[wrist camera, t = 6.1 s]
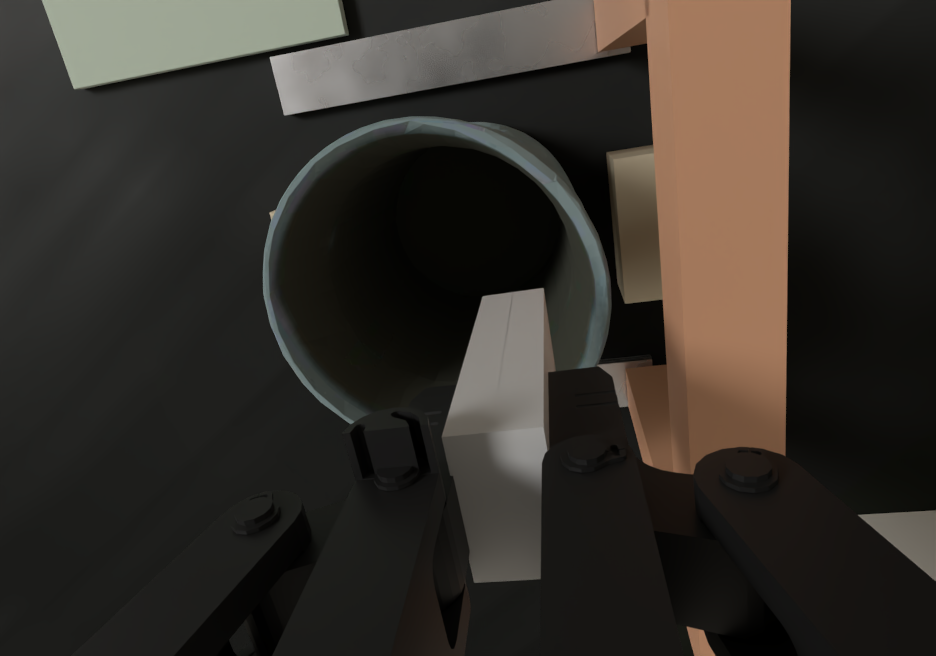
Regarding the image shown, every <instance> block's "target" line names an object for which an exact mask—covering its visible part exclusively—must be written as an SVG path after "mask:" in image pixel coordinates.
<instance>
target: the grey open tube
mask: <svg viewBox="0 0 936 656" xmlns="http://www.w3.org/2000/svg"><path fill="white" fill-rule="evenodd" d="M539 288H544V294H545V301H546V307H547V314H548V321H549V328H550V335H551V342H552V349H553V356H554V363H555V370H556V371H562V370H571V369H580V368H589V367H597V365H598V363H599V361H600V358H601V356H602V353H603V350H604V347H605V343H606V340H607V336H608V331H609V324H610V316H611V308H612V302H611V281H610V275H609V270H608V264H607V260H606V257H605V254H604V251H603V247H602V244H601V241H600V238H599V235H598V233H597V231H596V229H595V227H594V225H593V223H592V222H591V220H590V218H589V216H588V214H587V212H586V211H585V209H584V207H583V204H582V202H581V200H580V199H579V197H578V196H577V194H576V193H575V191H574V188H573V187H572V185H571V183H570V181H569V179H568V177H567V175H566V173H565V172H564V170H563V168H562V167H561V165H560V164H559V162H558V161H557V160H556V159H555V158H554V156H553V155H552V154H551V153H550V152H549V151H548V150H547V149H546V148H545V147H544V146H543V145H541V144H540V143H539V142H538V141H536V140H535V139H533V138H532V137H530V136H528V135H527V134H525V133H524V132H521V131H518V130H516V129H513V128H511V127H508V126H504V125H500V124H495V123H486V122H465V121H462V120H456V119H449V118H442V117H421V116H411V117H404V118H397V119H390V120H384V121H380V122H377V123H374V124H371V125H368V126H365V127H362V128H360V129H357V130H355V131H353V132H351V133H349V134H347V135H345V136H343V137H341V138H340V139H338V140H337V141H335V142H333V143H332V144H330V145H329V146H327V147H326V148H324V149H323V150H322V151H321V152H320V153H318V154H317V155H316V156H315V157H314V158H313V159H311V160H310V161H309V162H308V164H307V165H306V166H305V167H304V168H303V169H302V170H301V171H300V172H299V173H298V175H297V176H296V177H295V179H294V180H293V181H292V183H291V184H290V185H289V187H288V189H287V190H286V192H285V193H284V195H283V197H282V198H281V200H280V202H279V205H278V207H277V209H276V211H275V213H274V215H273V218H272V220H271V223H270V227H269V231H268V235H267V240H266V244H265V249H264V264H263V294H264V299H265V303H266V308H267V312H268V317H269V322H270V325H271V327H272V329H273V332H274V334H275V337H276V339H277V341H278V344H279V346H280V349H281V351H282V353H283V356H284V357H285V359H286V360H287V361H288V363H289V364H290V366H291V367H292V369H293V370H294V371H295V373H296V374H297V376H298V377H299V379H300V380H301V382H302V383H303V384H304V385H305V386H306V387H307V388H308V389H309V390H310V391H311V393H312V394H313V395H314V396H315V397H316V398H317V399H318V400H319V401H320V402H321V403H323V404H324V405H325V406H327V407H328V408H329V409H331V410H332V411H333V412H335V413H336V414H337V415H339V416H340V417H342V418H343V419H344V420H346V421H347V422H348V423H350V424H352V423H354V422H355V421H357V420H358V419H360V418H362V417H363V416H366V415H369V414H371V413H374V412H376V411H380V410H385V409H390V408H395V407H408V406H409V404H410V402H411V400H412V399H414V398H415V397H416V396H417V395H418V394H419V393H420V392H422V391H423V390H424V389H425V388H430V387H439V386H448V385H456V384H457V383H458V379H459V376H460V372H461V369H462V365H463V362H464V359H465V355H466V352H467V348H468V345H469V342H470V338H471V335H472V331H473V328H474V324H475V321H476V318H477V314H478V311H479V307H480V304H481V300H482V297H483V296H488V295H495V294H503V293H510V292H517V291H524V290H532V289H539Z"/></svg>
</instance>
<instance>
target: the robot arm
mask: <svg viewBox="0 0 936 656" xmlns="http://www.w3.org/2000/svg"><path fill="white" fill-rule="evenodd" d="M342 435H343V439H344V442H345V446H346V449H347V453H348V456H349V460H350V463H351V467H352V470H353V473H354V477H355V482H354V485H353V487H352V489H351V491H350V493H349V495H348V497H347V499H346V500H343V501H340V502H337V503H335V504H331V505H328V506H324V507H321V508H317V509H314V510H311V511H307V512H305V509H304V506H303V503H302V500H301V499H300V498H299V497H298V496H297V495H296V494H295V493H292V492H288V491H285V490H281V491H267V492H262V493H261V494H259V493H258V494H255V495H252V496H250V497H248V498H247V499H245V500H243V501H241V502H239V503H237V504H235V505H234V506H233V507H231V508H230V509H229V510H227V511H226V512H224V513H223V514H222V515H221V516H220V517H219V518H218V519H217V520H215V521H214V522H213V523H212V524H211V525H210V526H209V527H208V528H207V529H206V530H205V531H204V532H203V533H202V534H201V535H199V536H198V537H197V538H196V539H195V540H194V541H193V542H192V543H191V544H190V545H189V546H188V547H187V548H186V549H185V550H184V551H182V552H181V553H180V554H179V555H178V556H177V557H176V558H175V559H174V560H173V561H172V562H171V563H170V564H169V565H168V566H166V567H165V568H164V569H163V570H162V571H161V572H160V573H159V574H158V575H157V576H156V577H155V578H154V579H153V580H152V581H150V582H149V583H148V584H147V585H146V586H145V587H144V588H143V589H142V590H141V591H140V592H139V593H138V594H137V595H136V596H134V597H133V598H132V599H131V600H130V601H129V602H128V603H127V604H126V605H125V606H124V607H123V608H122V609H121V610H120V611H119V612H117V613H116V614H115V615H114V616H113V617H112V618H111V619H110V620H109V621H108V622H107V623H106V624H105V625H104V626H103V627H101V628H100V629H99V630H98V631H97V632H96V633H95V634H94V635H93V636H92V637H91V638H90V639H89V640H88V641H87V642H85V643H84V644H83V645H82V646H81V647H80V648H79V649H78V650H77V651H76V652H75V653H74V654H73V655H72V656H464V653H465V646H466V639H467V631H468V624H469V617H470V609H471V608H470V599H469V594H468V589H467V585H466V581H465V578H466V572H467V566H468V559H469V562H470V566H471V571H472V575H473V580H474V583H480V582H498V581H515V580H532V579H541V592H540V656H684V654H683V650H682V646H681V642H680V637H679V633H678V629H677V625H682V626H686V627H691V628H695V629H699V630H704V633H705V636H706V639H707V642H708V644H709V646H710V647H711V649H712V651H713V652H714V654H715V656H936V581H935V580H934V579H933V578H931V577H930V576H929V575H928V574H927V573H925V572H924V571H923V570H922V569H921V568H920V567H918V566H917V565H916V564H915V563H914V562H913V561H911V560H910V559H909V558H908V557H907V556H905V555H904V554H903V553H902V552H901V551H900V550H898V549H897V548H896V547H895V546H894V545H893V544H891V543H890V542H889V541H888V540H887V539H886V538H884V537H883V536H882V535H881V534H880V533H878V532H877V531H876V530H875V529H874V528H873V527H871V526H870V525H869V524H868V523H867V522H866V521H864V520H863V519H862V518H861V517H860V516H858V515H857V514H856V513H855V512H854V511H853V510H851V509H850V508H849V507H848V506H847V505H846V504H844V503H843V502H842V501H841V500H840V499H839V498H837V497H836V496H835V495H834V494H833V493H831V492H830V491H829V490H828V489H827V488H826V487H824V486H823V485H822V484H821V483H820V482H819V481H817V480H816V479H815V478H814V477H813V476H811V475H810V474H809V473H808V472H807V471H806V470H804V469H803V468H802V467H801V466H800V465H799V464H797V463H796V462H794V461H792V460H791V459H789V458H787V457H786V456H784V455H782V454H779V453H775V452H772V451H769V450H765V449H761V448H754V447H751V448H750V447H735V448H726V449H720V450H718V451H715V452H712V453H710V454H707V455H705V456H704V457H703V458H702V459H701V460H700V461H699V462H698V463H696V466H695V470H694V474H684V473H676V472H670V471H665V470H660V469H658V468H655V467H652V466H649V465H647V464H645V463H644V462H642V461H640V460H639V459H638V458H637V457H636V456H635V454H634V452H633V451H632V449H631V447H630V446H629V445H628V441H627V437H626V432H625V428H624V424H623V420H622V415H621V411H620V407H619V404H618V399H617V394H616V390H615V386H614V382H613V377H612V376H611V375H609V374H608V373H607V372H606V371H604V370H603V369H602V368H600V367H599V366H597V367H589V368H580V369H571V370H562V371H556V370H555V363H554V356H553V349H552V342H551V335H550V328H549V321H548V314H547V307H546V301H545V294H544V288H539V289H532V290H524V291H517V292H510V293H503V294H495V295H488V296H483V297H482V300H481V304H480V307H479V311H478V314H477V318H476V321H475V324H474V328H473V331H472V335H471V338H470V342H469V345H468V348H467V352H466V355H465V359H464V362H463V365H462V369H461V372H460V376H459V379H458V383H457V384H456V385H448V386H439V387H430V388H425V389H424V390H423V391H422V392H420V393H419V394H418V395H417V396H416V397H415V398H414V399H412V400H411V402H410V404H409V406H408V407H395V408H390V409H385V410H380V411H376V412H374V413H371V414H369V415H366V416H363V417H362V418H360V419H358V420H357V421H355V422H354V423H352V424H350V425H349V427H348V428H347V429H346V430H345V431H344V432H343V433H342ZM243 622H244V624H245V627H246V629H247V632H248V634H249V637H250V639H251V640H250V641H249V643H248V644H247V645H246V646H245V648H243V649H242V650H241V651H240V652H239V653H238V654H235V653H234V652H233V649H232V647H231V644H230V642H229V639H230V638H231V636H232V635H233V634H234V633H235V632H236V630H237V629H238V628H239V627H240V626H241V624H242V623H243ZM676 624H677V625H676Z"/></svg>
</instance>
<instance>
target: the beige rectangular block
mask: <svg viewBox="0 0 936 656" xmlns="http://www.w3.org/2000/svg"><path fill="white" fill-rule="evenodd" d="M606 156H607V167H608V179H609V191H610V202H611V214H612V225H613V237H614V249H615V260H616V272H617V283H618V286H619V289H620V291H621V294H622V297H623V299H624V302H625V304H628V303H636V302H645V301H654V300H662V299H663V295H662V279H661V262H660V246H659V229H658V213H657V196H656V180H655V163H654V147H653V145H649V146H643V147H636V148H630V149H624V150H617V151H611V152H606ZM275 211H276V210H275ZM275 211H273V212H270V216H271V220H272V218H273V215H274V213H275Z"/></svg>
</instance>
